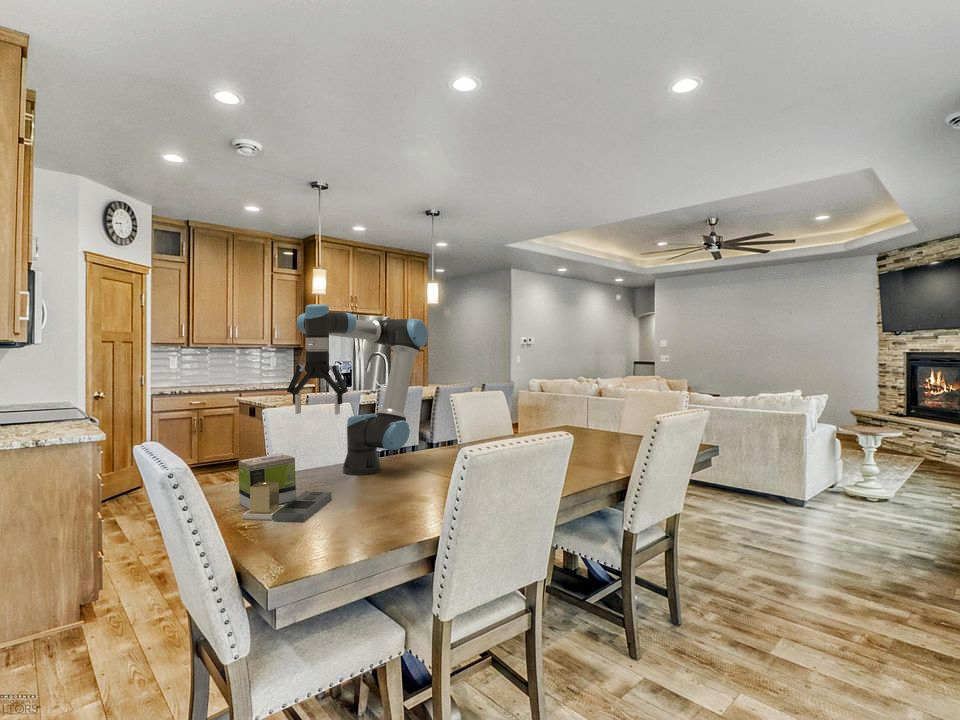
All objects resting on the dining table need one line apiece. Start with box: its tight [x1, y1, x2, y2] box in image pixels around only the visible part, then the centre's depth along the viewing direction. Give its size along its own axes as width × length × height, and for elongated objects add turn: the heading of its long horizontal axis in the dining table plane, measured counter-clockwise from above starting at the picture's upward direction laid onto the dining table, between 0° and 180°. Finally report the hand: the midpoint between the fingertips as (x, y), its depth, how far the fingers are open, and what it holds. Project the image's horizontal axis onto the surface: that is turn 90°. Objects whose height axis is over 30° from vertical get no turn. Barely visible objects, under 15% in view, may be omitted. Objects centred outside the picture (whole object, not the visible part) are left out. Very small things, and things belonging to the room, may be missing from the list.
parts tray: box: [242, 504, 285, 521], centre depth 159 cm, size 9×9×2 cm
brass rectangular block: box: [249, 481, 280, 514], centre depth 159 cm, size 6×6×10 cm
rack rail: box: [273, 490, 333, 523], centre depth 164 cm, size 22×9×3 cm, turn 175°
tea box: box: [238, 452, 297, 510], centre depth 171 cm, size 15×10×15 cm
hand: (317, 413), depth 175 cm, fingers open, 13 cm apart
